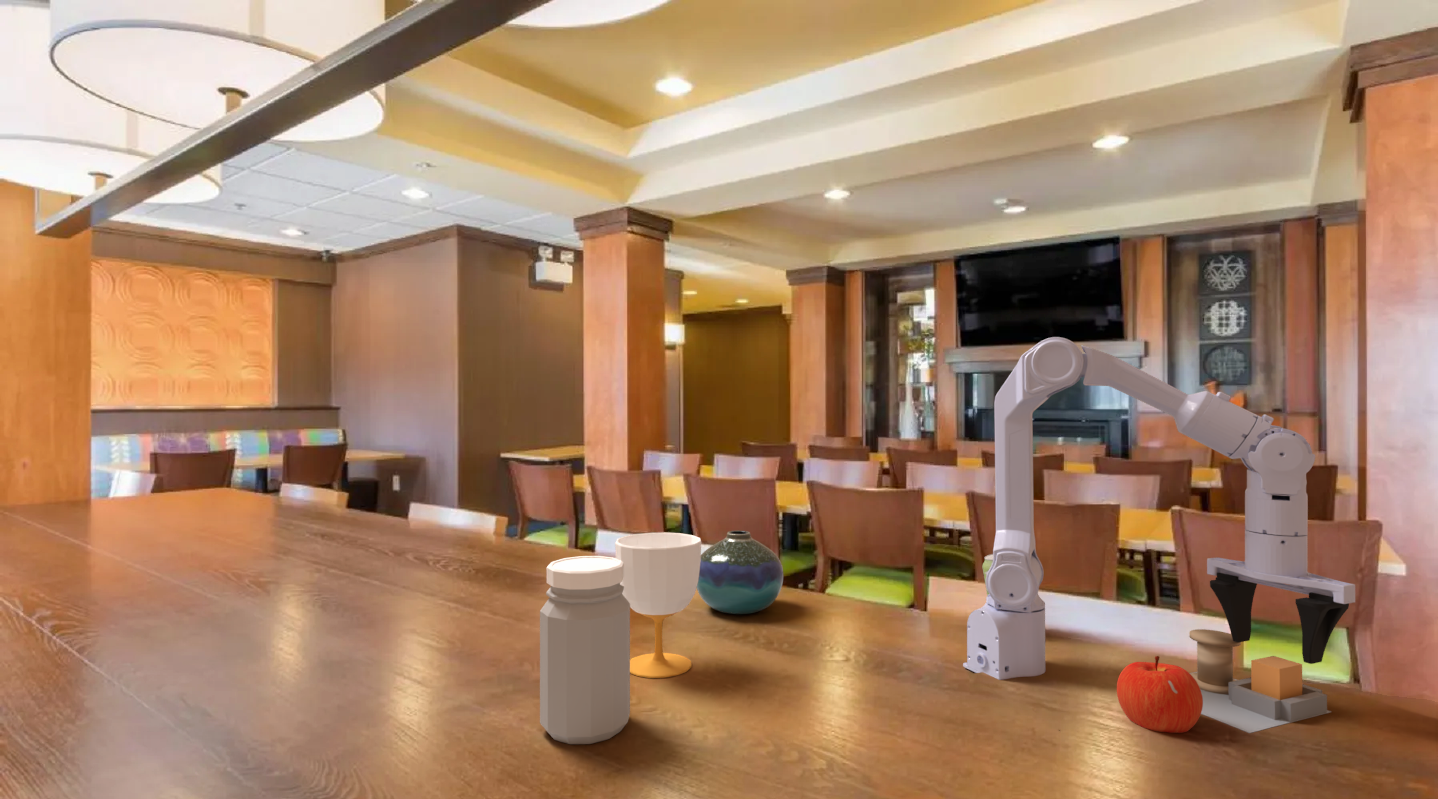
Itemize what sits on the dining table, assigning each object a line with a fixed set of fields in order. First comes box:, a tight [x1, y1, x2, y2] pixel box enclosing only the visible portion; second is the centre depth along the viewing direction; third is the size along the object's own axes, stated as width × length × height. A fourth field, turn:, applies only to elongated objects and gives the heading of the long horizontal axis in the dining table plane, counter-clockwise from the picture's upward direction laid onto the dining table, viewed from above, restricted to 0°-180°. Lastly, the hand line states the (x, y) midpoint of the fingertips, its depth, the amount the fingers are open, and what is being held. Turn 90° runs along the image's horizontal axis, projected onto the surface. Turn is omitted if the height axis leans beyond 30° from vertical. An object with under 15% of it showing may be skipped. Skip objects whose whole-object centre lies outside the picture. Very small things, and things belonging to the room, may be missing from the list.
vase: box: [696, 530, 784, 615], centre depth 126 cm, size 15×15×13 cm
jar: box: [539, 555, 631, 745], centre depth 80 cm, size 10×10×18 cm
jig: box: [1189, 671, 1332, 734], centre depth 86 cm, size 14×14×3 cm
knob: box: [1188, 628, 1242, 695], centre depth 90 cm, size 6×6×6 cm
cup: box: [614, 532, 702, 679], centre depth 99 cm, size 12×12×17 cm
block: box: [1250, 655, 1303, 700], centre depth 83 cm, size 4×3×5 cm
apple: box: [1116, 655, 1203, 734], centre depth 80 cm, size 8×8×8 cm
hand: (1275, 650), depth 84 cm, fingers open, 7 cm apart
